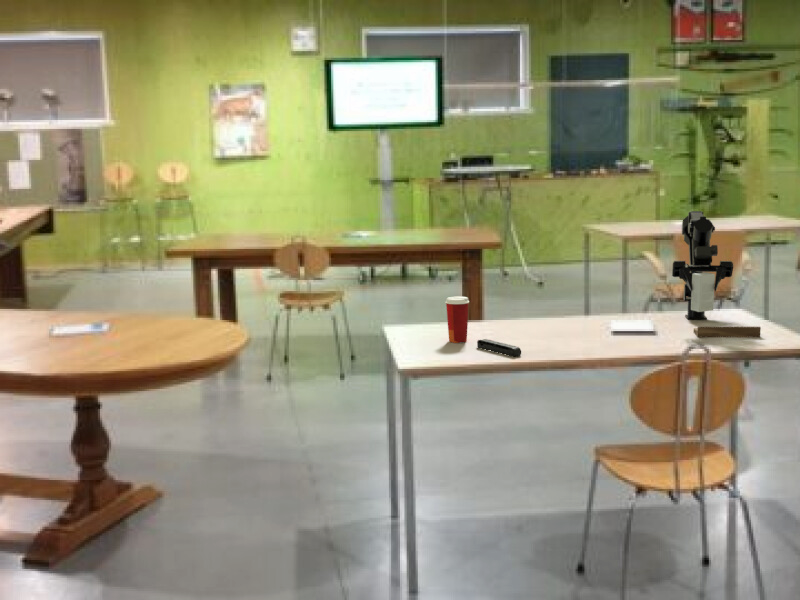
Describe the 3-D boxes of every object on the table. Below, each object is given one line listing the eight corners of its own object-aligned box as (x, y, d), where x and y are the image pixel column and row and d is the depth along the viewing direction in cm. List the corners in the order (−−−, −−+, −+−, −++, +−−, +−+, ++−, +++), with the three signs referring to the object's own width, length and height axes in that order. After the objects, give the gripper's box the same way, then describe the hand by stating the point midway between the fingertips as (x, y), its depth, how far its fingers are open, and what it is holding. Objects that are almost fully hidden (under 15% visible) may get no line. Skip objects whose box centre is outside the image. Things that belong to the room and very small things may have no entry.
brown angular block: (693, 332, 324) (693, 322, 323) (754, 332, 322) (754, 322, 321) (697, 337, 316) (698, 327, 315) (760, 337, 314) (760, 327, 313)
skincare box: (704, 308, 326) (706, 271, 324) (713, 310, 323) (715, 273, 320) (689, 309, 324) (691, 273, 322) (699, 312, 320) (701, 275, 318)
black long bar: (521, 357, 296) (521, 347, 296) (514, 358, 295) (514, 348, 294) (483, 347, 311) (483, 338, 310) (476, 348, 309) (476, 339, 309)
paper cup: (473, 339, 321) (473, 296, 318) (463, 344, 314) (463, 300, 312) (451, 338, 324) (451, 295, 322) (441, 342, 318) (440, 299, 316)
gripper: (673, 236, 325) (674, 275, 316) (733, 236, 321) (736, 275, 312) (671, 256, 334) (672, 295, 325) (730, 256, 330) (732, 295, 321)
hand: (703, 290), depth 321 cm, fingers closed on skincare box, 7 cm apart
